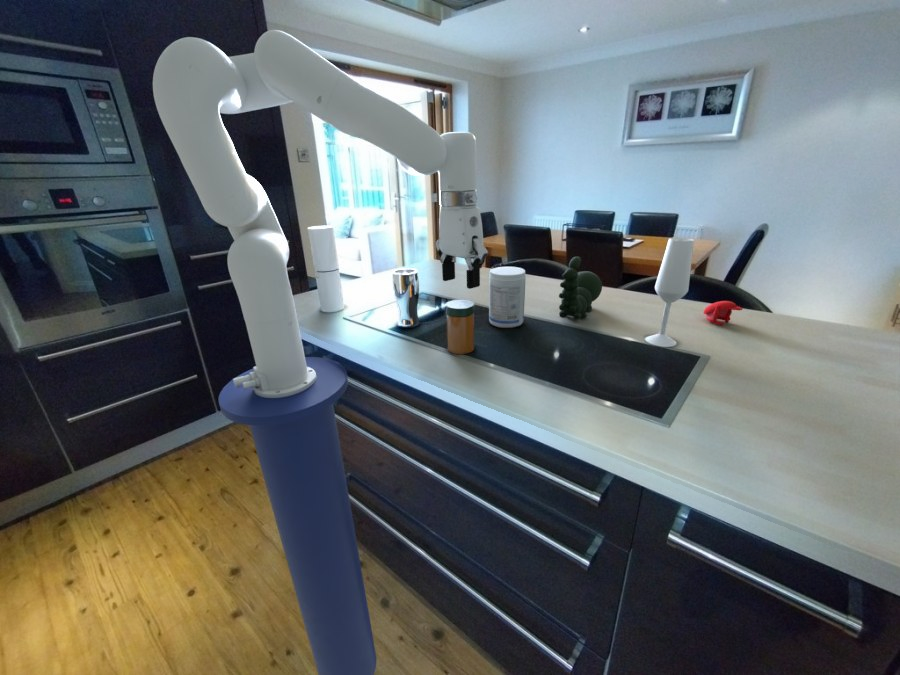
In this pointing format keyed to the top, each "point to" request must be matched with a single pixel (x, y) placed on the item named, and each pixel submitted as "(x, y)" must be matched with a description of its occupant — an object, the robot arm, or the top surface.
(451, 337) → the jar
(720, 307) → the red animal figurine
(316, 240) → the cylindrical container
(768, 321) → the top surface
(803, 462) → the top surface
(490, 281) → the supplement tub
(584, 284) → the toy figurine
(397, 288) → the beer glass
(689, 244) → the champagne flute
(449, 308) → the lid
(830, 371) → the top surface
